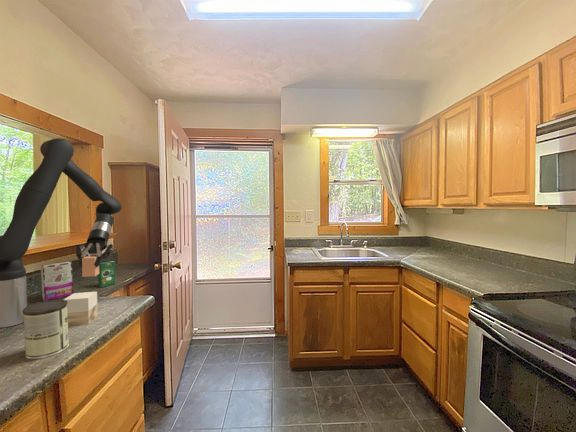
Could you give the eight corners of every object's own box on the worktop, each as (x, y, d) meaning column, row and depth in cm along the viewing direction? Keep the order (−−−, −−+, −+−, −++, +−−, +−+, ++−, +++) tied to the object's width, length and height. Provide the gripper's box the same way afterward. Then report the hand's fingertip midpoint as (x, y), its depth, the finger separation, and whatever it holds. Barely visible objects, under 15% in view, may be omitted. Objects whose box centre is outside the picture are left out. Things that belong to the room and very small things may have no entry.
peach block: (95, 276, 114) (94, 257, 113) (82, 276, 112) (81, 258, 112) (99, 273, 118) (99, 256, 118) (87, 274, 117) (86, 256, 117)
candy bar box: (70, 293, 141) (69, 261, 140) (73, 295, 138) (72, 262, 137) (41, 299, 132) (40, 265, 132) (44, 301, 129) (42, 266, 128)
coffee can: (21, 351, 85) (19, 306, 84) (64, 339, 93) (62, 297, 92) (28, 364, 78) (25, 314, 78) (73, 349, 86) (71, 304, 86)
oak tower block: (88, 324, 105) (88, 311, 104) (63, 326, 103) (63, 313, 102) (97, 316, 112) (97, 303, 112) (74, 318, 110) (74, 305, 110)
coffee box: (113, 283, 159) (112, 260, 158) (116, 284, 157) (115, 261, 157) (98, 287, 151) (97, 263, 151) (101, 287, 150) (100, 263, 150)
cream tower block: (88, 311, 104) (88, 297, 104) (63, 313, 102) (63, 299, 102) (97, 303, 112) (96, 291, 112) (74, 305, 110) (73, 293, 110)
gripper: (78, 228, 120) (64, 261, 109) (116, 228, 124) (106, 260, 112) (84, 239, 125) (71, 272, 114) (120, 238, 129) (111, 270, 118)
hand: (88, 266), depth 113 cm, fingers closed on peach block, 4 cm apart
